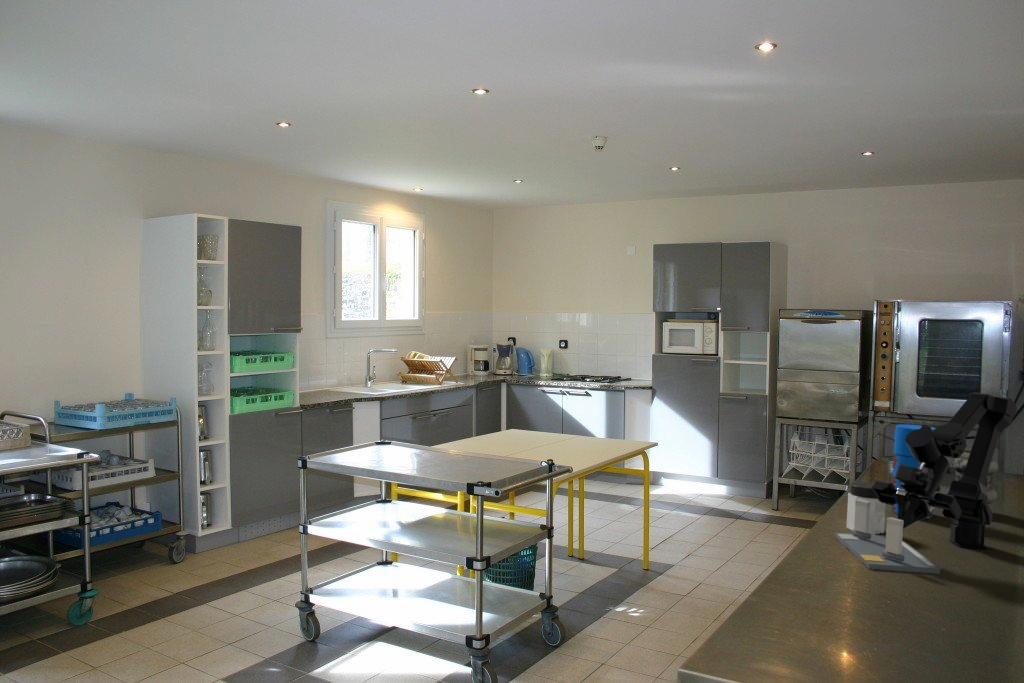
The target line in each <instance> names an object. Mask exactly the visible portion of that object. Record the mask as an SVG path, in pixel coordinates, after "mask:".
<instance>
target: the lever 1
mask: <svg viewBox="0 0 1024 683" xmlns="http://www.w3.org/2000/svg"><path fill="white" fill-rule="evenodd" d="M870 504H871V502H869V501H864V500H860V499H858V500H855V525H854V529H853V530H851V534H852V535H855V536H859V537H862V538H866V539H871V534H869V533H868V532H869V518H870Z"/></svg>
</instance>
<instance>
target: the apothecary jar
mask: <svg viewBox="0 0 1024 683" xmlns="http://www.w3.org/2000/svg"><path fill="white" fill-rule="evenodd" d="M971 449H972V448H965V451H964V453H963V454H962V455H961V456H960V457H959V458H952V460H951V465H952V467H953V468H954V469H955V475H954V476H955V477H954V478H955V479H954V480H956V481H958V480H960V479H961V478H962V477H963V474H964V471H965V468H966V464H967V461H968V458H969V455H970V452H971ZM997 471H999V465H998V463H997V462H996V461H995V460H994V458H993V457H992V460H991V464H990V467H989V470H988V473H987V477H986V480H985V483H984V487H985V490H986V493H987V496H988V500H987V504H988V505H989V504H992V503H994V502H995V501H997V499H998V493H997V491H996V490H995V489H994V488H993V486H994V485H993V483H994V474H995V473H997Z"/></svg>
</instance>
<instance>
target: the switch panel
mask: <svg viewBox="0 0 1024 683" xmlns="http://www.w3.org/2000/svg"><path fill="white" fill-rule="evenodd" d="M835 537H836V538H837V539H838V540H839V541H838V542H839V543H841V545H843V546H844V547H845V548H846V547H847V548H848V549H849V550H850V551H851V552H852V553H853V554H854V555H855V556H856V557H857V558H858V561H859V562H861V563H862V562H863V563H864V564H865V565H866V566H867V567H868V568H869V569H868V568H867V567H866V566H865V565H864V564H863V563H862V564H863V565H864V566H865V567H866V568H867V569H868V570H874V569H881V570H880V571H890V570H892V571H891V572H893V571H894V572H905V571H906V573H908V572H909V573H923V574H937V575H939V574H941V567H939V566H938V565H936V564H935V563H934V562H933V561H931V560H930V559H929V558H927V557H926V556H924V555H923V554H922V553H920V552H919V551H918V550H916V549H915V548H914V547H912V546H911V545H910V544H909V543H907V542H906V541H904V540H903V539H902V554H900V555H904V561H903V562H902V561H898V560H895V559H892V558H888V557H885V556H883V555H882V552H883V550H885V548H886V534H885V535H884V534H881V535H880V534H877V535H871V539H866V538H862V537H859V536H855V535H852V532H850V533H848V532H847V533H846V532H835V533H834V538H835ZM836 538H835V539H836ZM837 539H836V540H837ZM847 548H846V549H847ZM848 549H847V550H848ZM849 550H848V551H849ZM850 551H849V552H850ZM851 552H850V553H851ZM852 553H851V554H852ZM853 554H852V555H853ZM854 555H853V556H854ZM855 556H854V557H855ZM856 557H855V558H856ZM857 558H856V559H857Z"/></svg>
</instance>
